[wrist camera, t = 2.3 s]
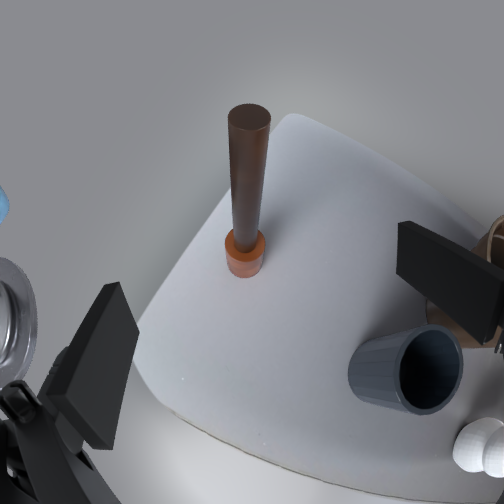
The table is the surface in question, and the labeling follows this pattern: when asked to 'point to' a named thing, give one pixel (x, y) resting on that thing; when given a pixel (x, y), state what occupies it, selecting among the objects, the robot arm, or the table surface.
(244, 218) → the brown rod
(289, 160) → the table surface
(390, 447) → the table surface
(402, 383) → the blue-grey cylindrical holder
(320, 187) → the table surface
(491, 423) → the cat figurine
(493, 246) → the plant pot
